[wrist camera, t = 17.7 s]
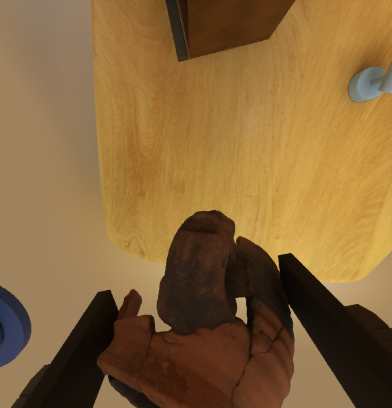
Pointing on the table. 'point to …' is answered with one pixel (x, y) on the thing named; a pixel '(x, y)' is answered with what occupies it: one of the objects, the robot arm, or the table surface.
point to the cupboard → (223, 23)
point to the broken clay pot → (206, 327)
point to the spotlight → (370, 83)
